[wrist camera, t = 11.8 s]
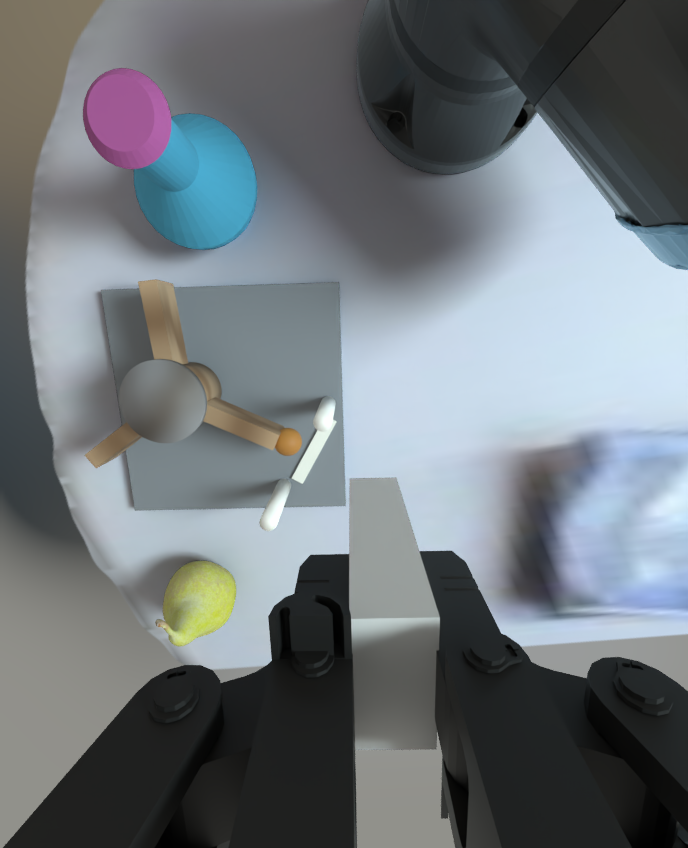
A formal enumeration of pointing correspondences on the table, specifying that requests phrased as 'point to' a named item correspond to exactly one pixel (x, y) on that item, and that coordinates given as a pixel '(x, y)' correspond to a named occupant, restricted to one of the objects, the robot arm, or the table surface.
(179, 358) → the capstan
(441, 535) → the table surface
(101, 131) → the perfume bottle
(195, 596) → the fruit
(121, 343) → the stand
